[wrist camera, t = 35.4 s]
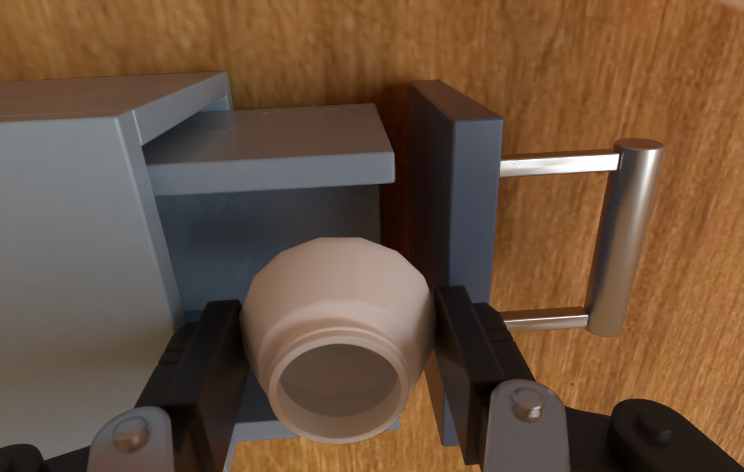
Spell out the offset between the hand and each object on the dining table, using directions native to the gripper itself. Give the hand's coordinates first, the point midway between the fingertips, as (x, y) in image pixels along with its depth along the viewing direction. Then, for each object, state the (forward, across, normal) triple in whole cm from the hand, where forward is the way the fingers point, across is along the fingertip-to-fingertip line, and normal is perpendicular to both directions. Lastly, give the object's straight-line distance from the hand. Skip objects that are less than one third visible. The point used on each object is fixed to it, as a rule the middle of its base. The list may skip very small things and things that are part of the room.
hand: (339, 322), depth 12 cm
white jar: (+1, 0, 0) cm, 1 cm away
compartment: (+8, -1, 0) cm, 8 cm away
